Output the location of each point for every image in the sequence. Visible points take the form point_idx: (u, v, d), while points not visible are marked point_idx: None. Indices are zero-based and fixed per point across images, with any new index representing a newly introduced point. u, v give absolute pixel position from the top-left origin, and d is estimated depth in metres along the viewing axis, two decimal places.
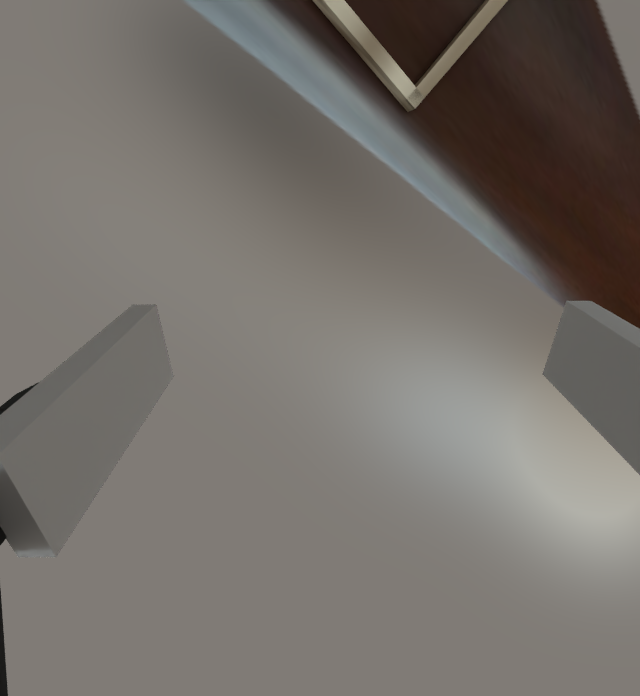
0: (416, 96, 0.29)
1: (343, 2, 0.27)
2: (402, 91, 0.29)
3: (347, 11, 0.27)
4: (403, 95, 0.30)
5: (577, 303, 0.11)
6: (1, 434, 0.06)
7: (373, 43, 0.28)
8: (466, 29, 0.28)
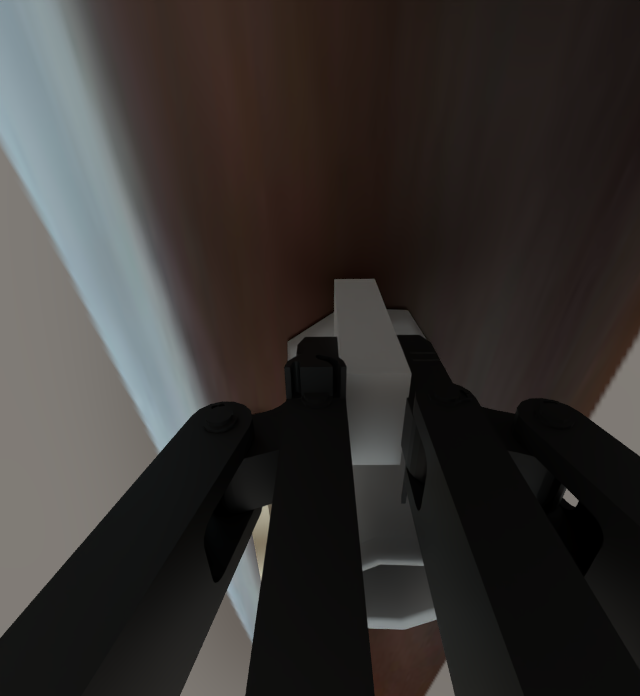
0: None
1: None
2: None
3: (263, 508, 0.18)
4: None
5: (360, 280, 0.13)
6: (361, 362, 0.08)
7: None
8: None
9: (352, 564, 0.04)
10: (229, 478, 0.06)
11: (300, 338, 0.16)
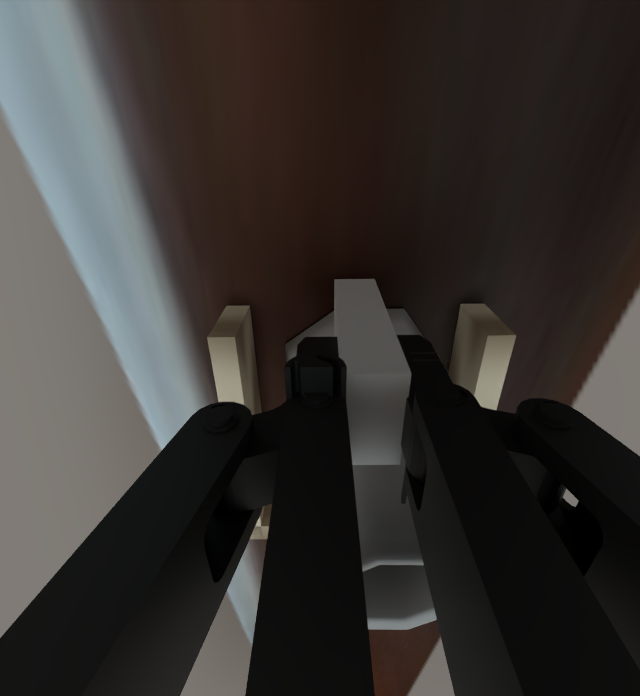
0: (254, 532, 0.19)
1: (240, 398, 0.15)
2: None
3: None
4: None
5: (360, 280, 0.13)
6: (361, 362, 0.08)
7: None
8: None
9: (352, 564, 0.04)
10: (229, 478, 0.06)
11: (297, 340, 0.16)
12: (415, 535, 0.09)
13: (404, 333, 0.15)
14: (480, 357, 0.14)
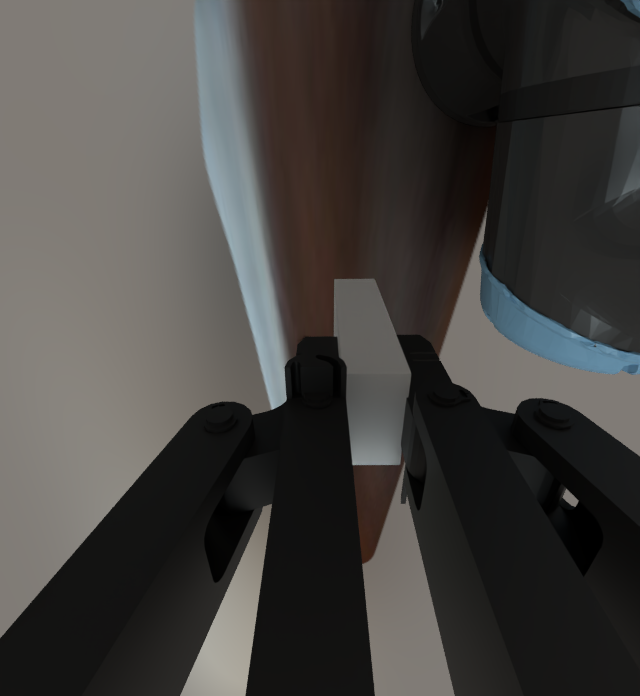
0: None
1: None
2: None
3: None
4: None
5: (360, 280, 0.13)
6: (361, 362, 0.08)
7: None
8: None
9: (352, 564, 0.04)
10: (229, 478, 0.06)
11: None
12: None
13: None
14: None
